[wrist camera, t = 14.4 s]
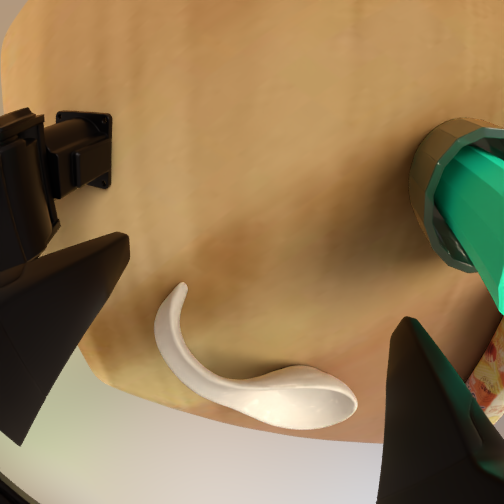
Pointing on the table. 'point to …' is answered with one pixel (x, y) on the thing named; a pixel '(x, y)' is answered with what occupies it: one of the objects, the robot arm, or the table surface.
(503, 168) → the candle
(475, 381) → the snack package
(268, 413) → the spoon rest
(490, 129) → the bowl
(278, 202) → the table surface
